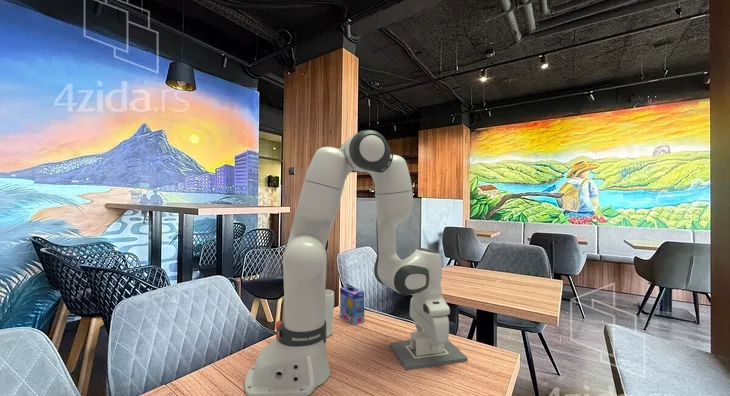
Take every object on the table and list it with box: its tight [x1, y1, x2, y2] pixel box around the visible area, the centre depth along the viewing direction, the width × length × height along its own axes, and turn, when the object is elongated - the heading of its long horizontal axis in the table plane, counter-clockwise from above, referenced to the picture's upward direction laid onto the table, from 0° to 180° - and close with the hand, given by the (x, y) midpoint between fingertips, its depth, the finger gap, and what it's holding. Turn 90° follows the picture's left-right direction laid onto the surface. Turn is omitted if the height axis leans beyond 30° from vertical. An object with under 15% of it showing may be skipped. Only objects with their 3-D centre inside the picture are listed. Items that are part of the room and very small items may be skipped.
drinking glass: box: [325, 289, 335, 337], centre depth 105 cm, size 7×7×15 cm
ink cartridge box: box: [339, 283, 365, 326], centre depth 117 cm, size 10×6×14 cm, turn 40°
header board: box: [389, 339, 469, 371], centre depth 93 cm, size 20×14×4 cm
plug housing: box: [410, 330, 444, 356], centre depth 93 cm, size 9×5×5 cm, turn 104°
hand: (426, 343), depth 93 cm, fingers open, 8 cm apart
